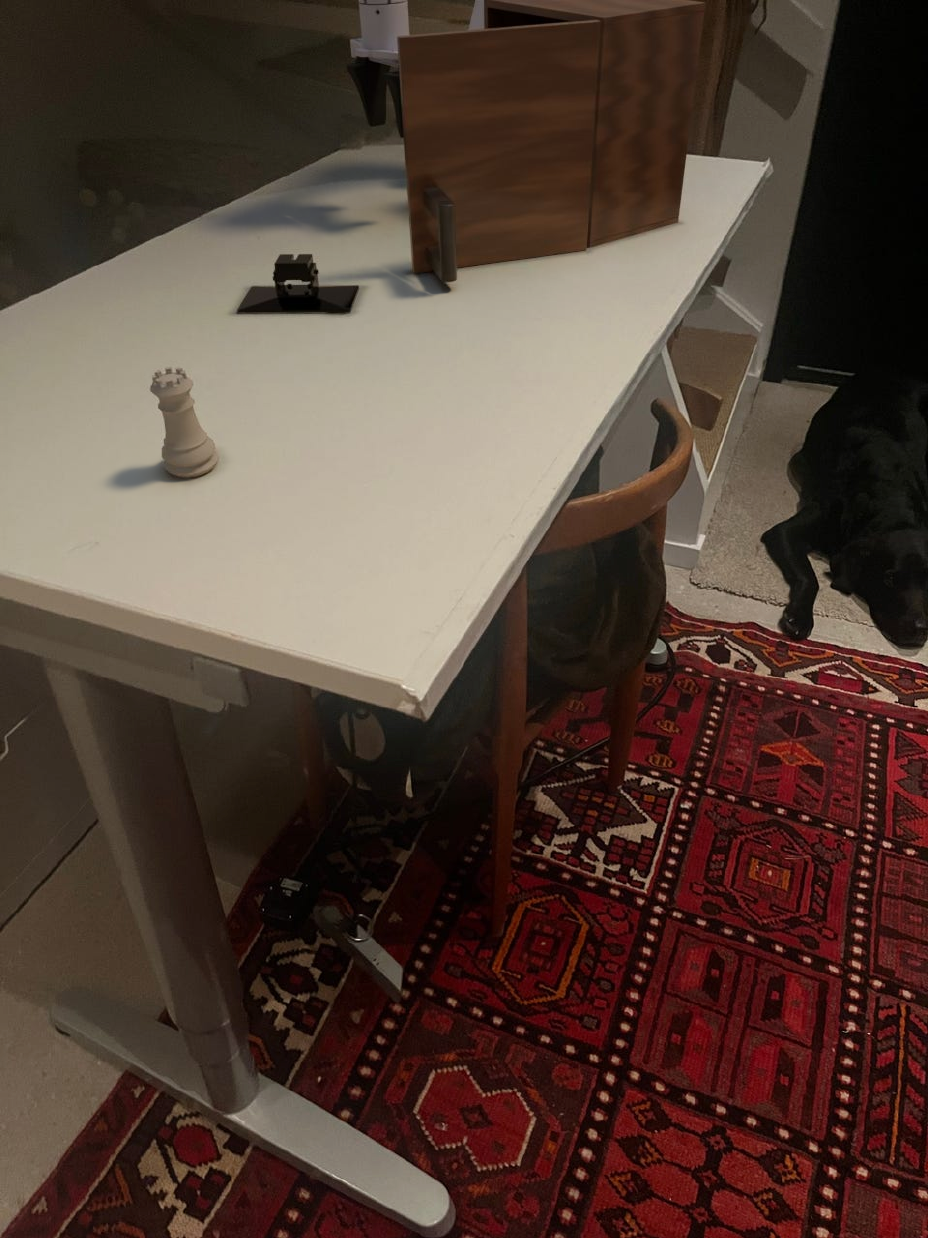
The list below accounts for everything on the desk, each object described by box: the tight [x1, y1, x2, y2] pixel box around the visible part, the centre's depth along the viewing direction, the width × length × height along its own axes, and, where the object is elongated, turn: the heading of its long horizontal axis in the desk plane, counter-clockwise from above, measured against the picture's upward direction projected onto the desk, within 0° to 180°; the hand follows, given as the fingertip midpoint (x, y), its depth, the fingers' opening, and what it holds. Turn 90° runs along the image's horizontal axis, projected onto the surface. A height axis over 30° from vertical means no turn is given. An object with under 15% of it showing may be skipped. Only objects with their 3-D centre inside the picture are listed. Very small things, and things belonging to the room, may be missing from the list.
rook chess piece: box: [149, 366, 220, 478], centre depth 71 cm, size 4×4×8 cm
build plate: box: [236, 253, 360, 315], centre depth 98 cm, size 12×7×5 cm, turn 87°
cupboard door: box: [397, 20, 600, 283], centre depth 96 cm, size 8×22×23 cm, turn 107°
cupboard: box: [484, 0, 706, 249], centre depth 111 cm, size 15×22×24 cm
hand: (392, 130), depth 114 cm, fingers open, 7 cm apart
